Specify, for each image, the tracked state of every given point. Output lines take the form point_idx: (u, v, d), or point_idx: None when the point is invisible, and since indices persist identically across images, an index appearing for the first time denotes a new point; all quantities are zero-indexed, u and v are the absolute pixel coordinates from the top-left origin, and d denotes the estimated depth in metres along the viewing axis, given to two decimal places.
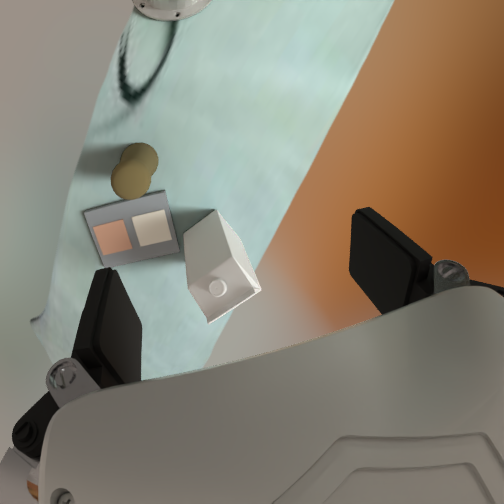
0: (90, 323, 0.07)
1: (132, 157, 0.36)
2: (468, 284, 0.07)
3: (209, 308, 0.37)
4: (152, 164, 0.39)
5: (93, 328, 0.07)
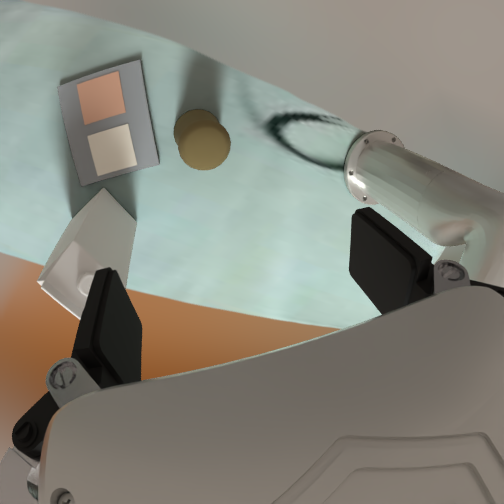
0: (90, 323, 0.07)
1: None
2: (468, 284, 0.07)
3: (58, 279, 0.23)
4: None
5: (93, 327, 0.07)
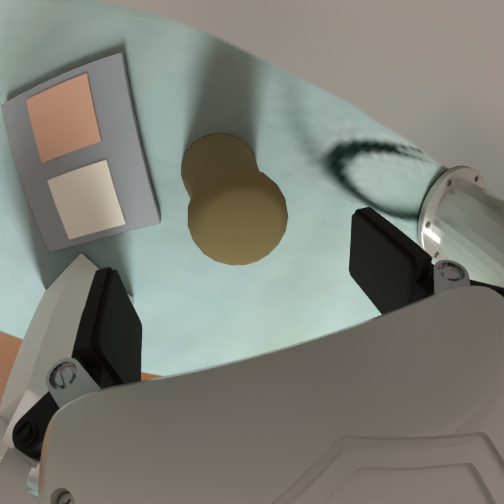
0: (90, 323, 0.07)
1: None
2: (468, 284, 0.07)
3: None
4: None
5: (93, 328, 0.07)
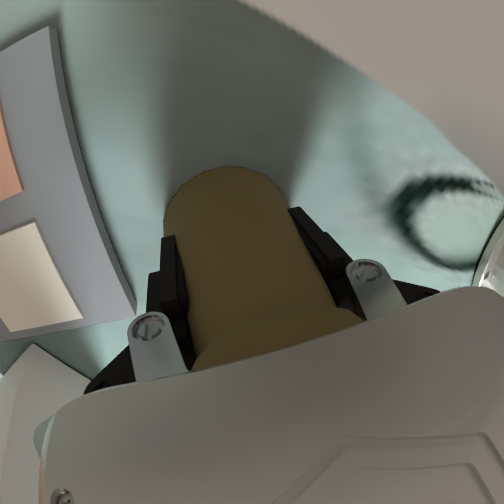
0: (171, 279, 0.09)
1: None
2: (389, 278, 0.08)
3: None
4: None
5: (176, 282, 0.08)
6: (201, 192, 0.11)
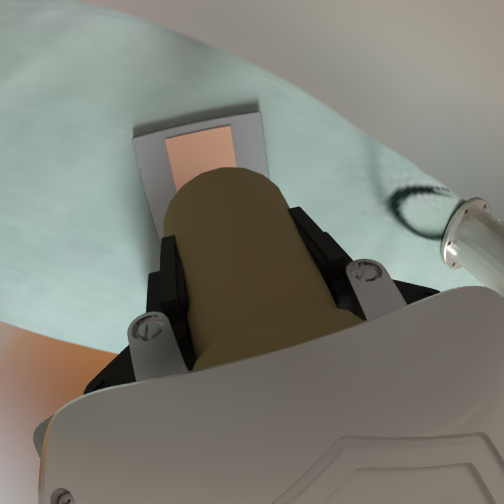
0: (171, 279, 0.09)
1: None
2: (389, 278, 0.08)
3: None
4: None
5: (176, 282, 0.08)
6: (201, 192, 0.11)
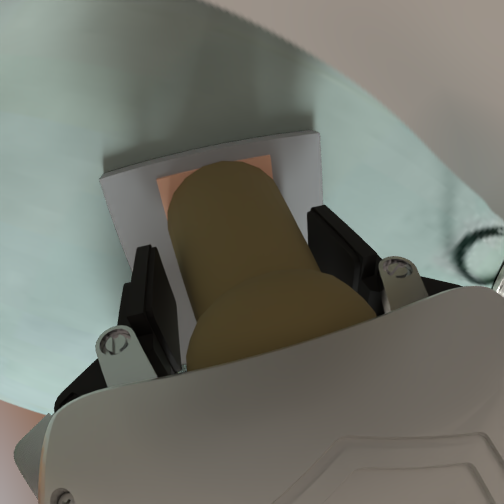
0: (140, 292, 0.08)
1: None
2: (418, 277, 0.08)
3: None
4: None
5: (144, 296, 0.08)
6: (203, 182, 0.12)
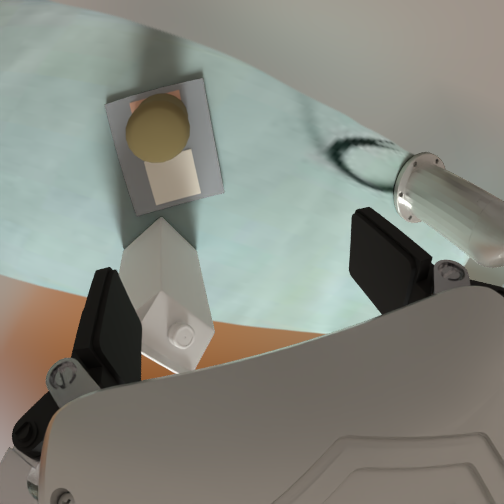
0: (90, 323, 0.07)
1: None
2: (468, 284, 0.07)
3: (147, 334, 0.23)
4: None
5: (93, 328, 0.07)
6: (147, 99, 0.26)
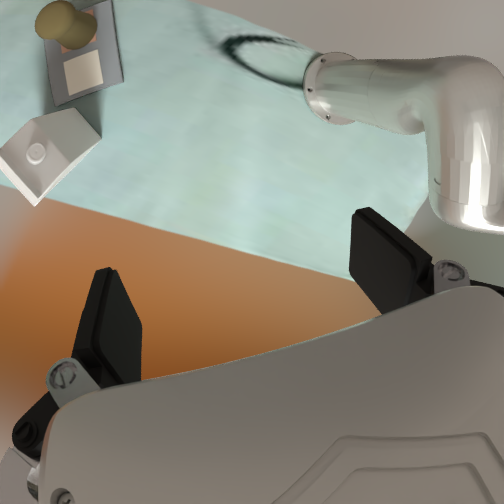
0: (90, 323, 0.07)
1: (78, 19, 0.23)
2: (468, 284, 0.07)
3: (11, 149, 0.21)
4: (70, 41, 0.25)
5: (92, 328, 0.07)
6: None
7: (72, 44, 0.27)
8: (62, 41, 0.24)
